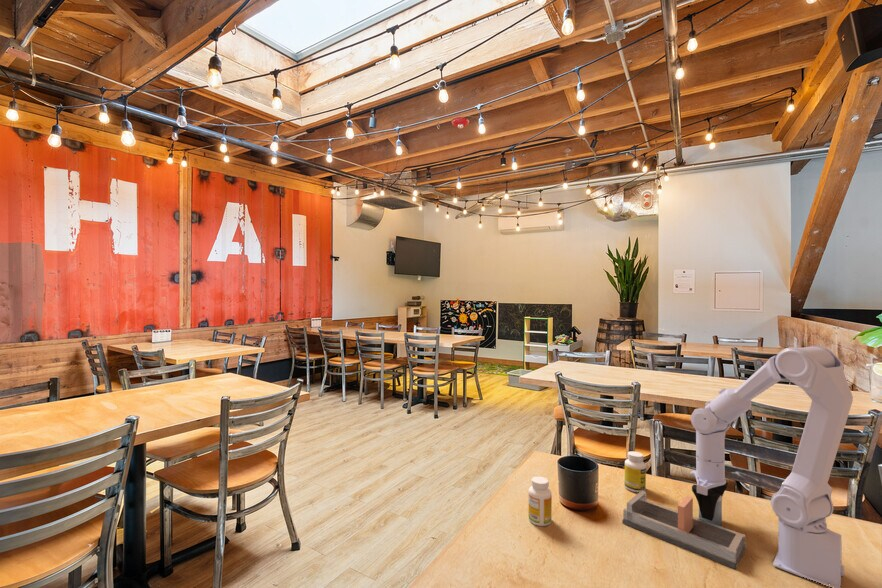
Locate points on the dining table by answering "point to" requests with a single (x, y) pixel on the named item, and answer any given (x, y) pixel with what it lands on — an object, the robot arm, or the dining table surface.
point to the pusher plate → (685, 514)
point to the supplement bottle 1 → (540, 502)
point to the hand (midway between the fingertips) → (710, 514)
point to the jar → (717, 515)
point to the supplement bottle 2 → (635, 472)
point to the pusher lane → (699, 540)
